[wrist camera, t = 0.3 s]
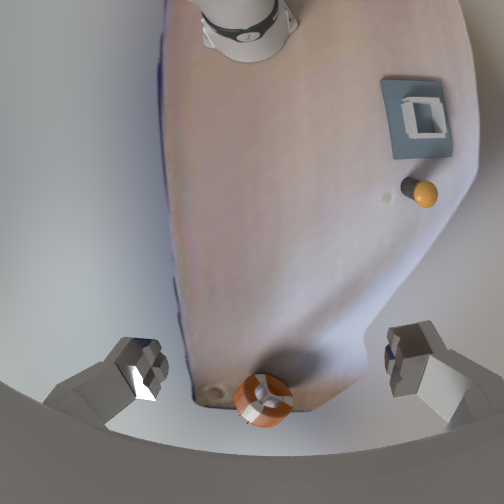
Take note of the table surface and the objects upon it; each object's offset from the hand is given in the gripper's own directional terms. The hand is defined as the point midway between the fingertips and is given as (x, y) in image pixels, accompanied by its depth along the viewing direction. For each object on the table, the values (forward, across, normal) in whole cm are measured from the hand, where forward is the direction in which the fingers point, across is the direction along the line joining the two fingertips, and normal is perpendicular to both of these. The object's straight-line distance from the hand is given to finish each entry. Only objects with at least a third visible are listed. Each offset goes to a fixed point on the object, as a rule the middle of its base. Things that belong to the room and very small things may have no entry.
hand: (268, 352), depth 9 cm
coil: (+47, +12, +54) cm, 72 cm away
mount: (+48, -28, -10) cm, 57 cm away
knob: (+48, -24, +5) cm, 54 cm away
